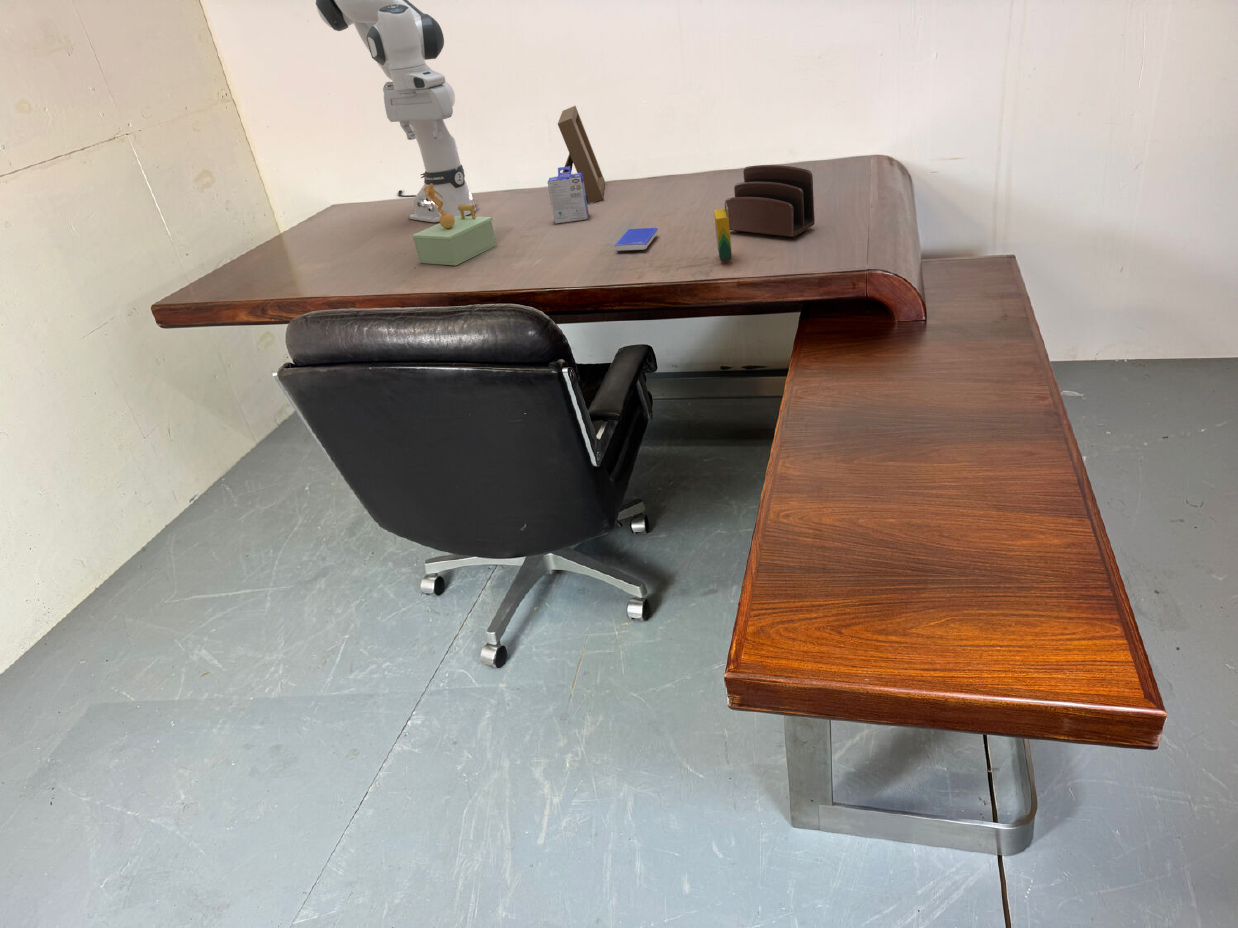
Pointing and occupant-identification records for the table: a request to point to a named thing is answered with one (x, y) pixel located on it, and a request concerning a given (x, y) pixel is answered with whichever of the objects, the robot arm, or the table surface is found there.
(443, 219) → the figurine
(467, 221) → the chest lid
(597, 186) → the photo frame
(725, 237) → the crayon box
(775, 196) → the letter holder
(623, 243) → the hard drive
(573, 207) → the ink cartridge box
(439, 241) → the chest
